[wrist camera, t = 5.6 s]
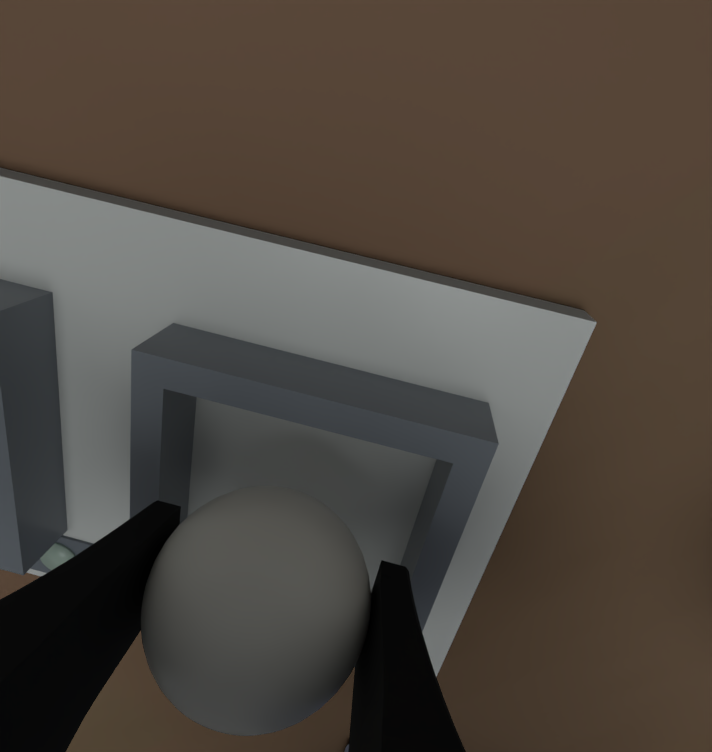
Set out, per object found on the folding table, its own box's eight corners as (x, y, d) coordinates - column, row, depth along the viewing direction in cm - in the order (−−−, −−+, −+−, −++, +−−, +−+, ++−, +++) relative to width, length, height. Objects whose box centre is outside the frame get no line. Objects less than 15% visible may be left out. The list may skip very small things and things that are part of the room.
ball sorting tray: (584, 310, 12) (628, 353, 10) (432, 658, 18) (433, 745, 16) (-286, 97, 13) (-472, 81, 10) (-159, 496, 19) (-256, 551, 16)
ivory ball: (401, 475, 12) (387, 664, 8) (357, 609, 14) (324, 818, 10) (210, 423, 12) (83, 578, 8) (194, 563, 14) (88, 750, 10)
